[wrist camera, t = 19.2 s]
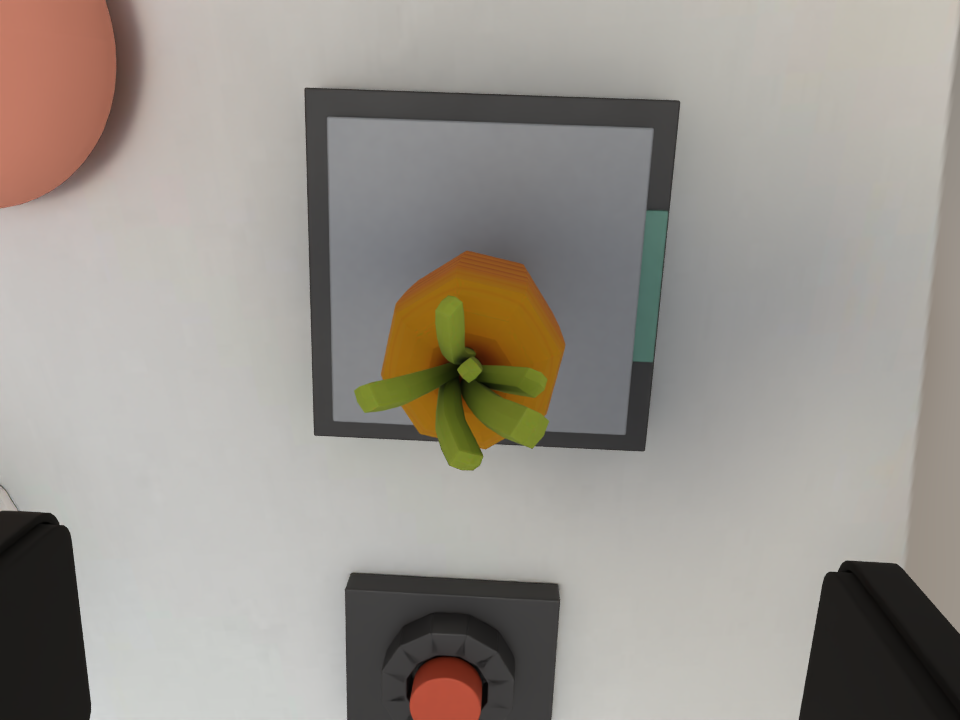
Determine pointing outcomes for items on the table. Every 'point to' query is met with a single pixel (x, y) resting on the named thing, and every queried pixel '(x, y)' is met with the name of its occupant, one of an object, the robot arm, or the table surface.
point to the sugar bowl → (51, 91)
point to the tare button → (446, 691)
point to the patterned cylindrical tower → (6, 501)
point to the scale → (491, 238)
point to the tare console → (450, 642)
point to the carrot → (471, 358)
